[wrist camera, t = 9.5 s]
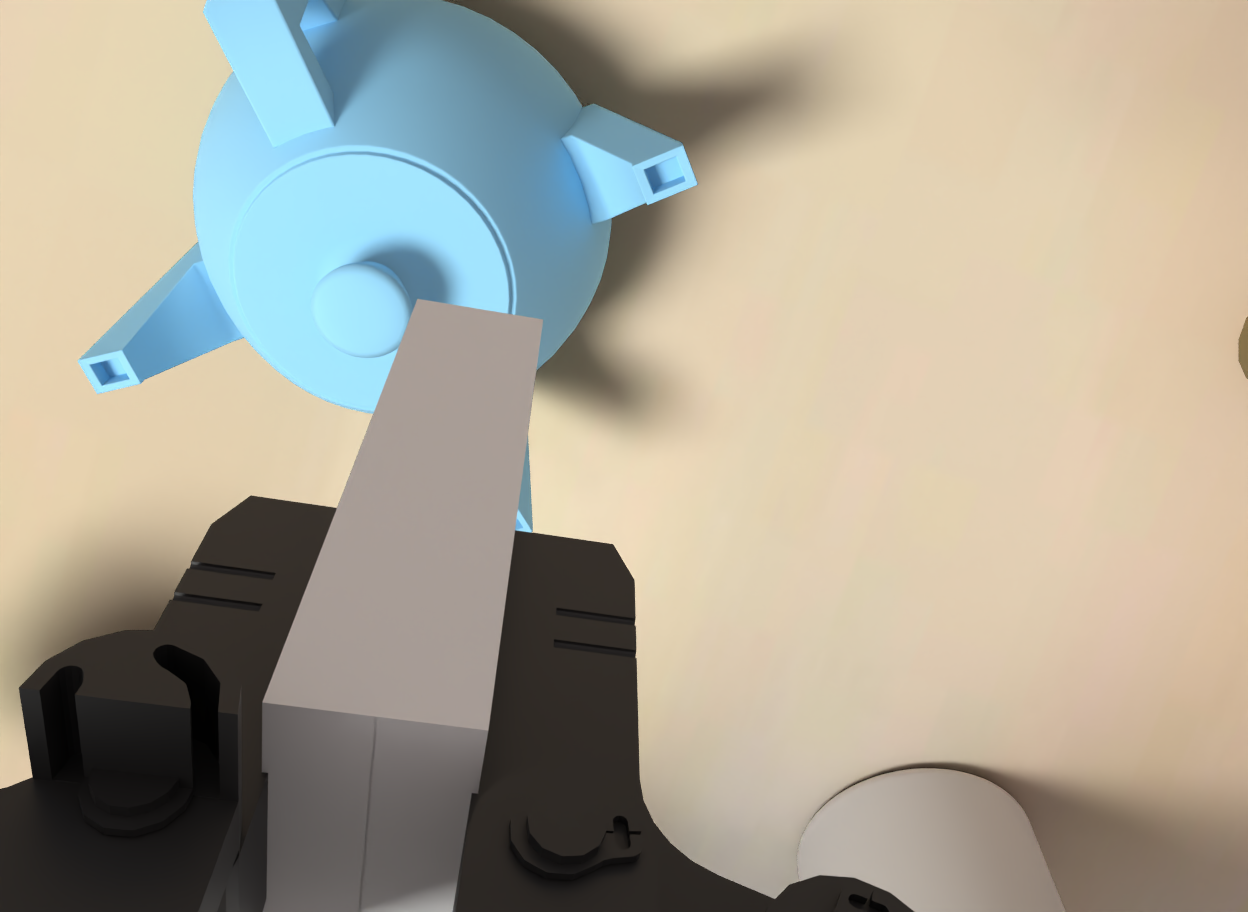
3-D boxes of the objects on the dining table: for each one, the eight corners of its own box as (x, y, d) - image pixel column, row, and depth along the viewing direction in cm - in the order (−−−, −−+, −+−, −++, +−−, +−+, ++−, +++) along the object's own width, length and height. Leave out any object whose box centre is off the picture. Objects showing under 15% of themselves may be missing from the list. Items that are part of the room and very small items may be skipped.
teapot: (710, 95, 37) (742, 195, 28) (537, 430, 44) (517, 597, 35) (281, -125, 33) (156, -93, 24) (167, 279, 41) (37, 422, 31)
